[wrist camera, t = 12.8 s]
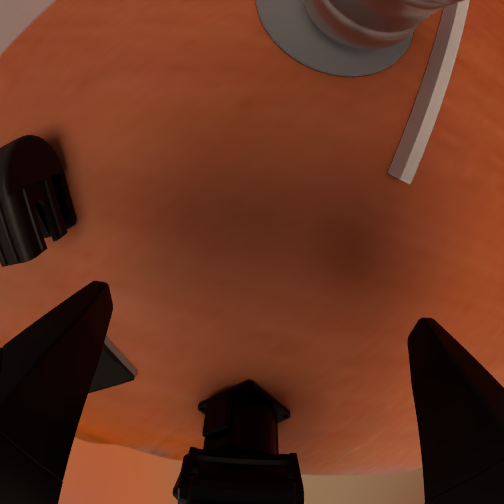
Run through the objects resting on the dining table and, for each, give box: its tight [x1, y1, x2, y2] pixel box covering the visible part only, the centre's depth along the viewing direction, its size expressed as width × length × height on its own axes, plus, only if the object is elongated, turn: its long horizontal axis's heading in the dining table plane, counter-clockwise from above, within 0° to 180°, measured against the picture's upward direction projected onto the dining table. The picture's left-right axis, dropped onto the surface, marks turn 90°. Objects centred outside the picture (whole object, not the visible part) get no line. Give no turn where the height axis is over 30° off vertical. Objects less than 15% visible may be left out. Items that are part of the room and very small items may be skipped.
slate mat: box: [256, 0, 414, 77], centre depth 14 cm, size 10×10×1 cm
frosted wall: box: [388, 0, 470, 184], centre depth 14 cm, size 18×1×2 cm, turn 161°
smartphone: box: [88, 336, 137, 393], centre depth 26 cm, size 8×1×15 cm
